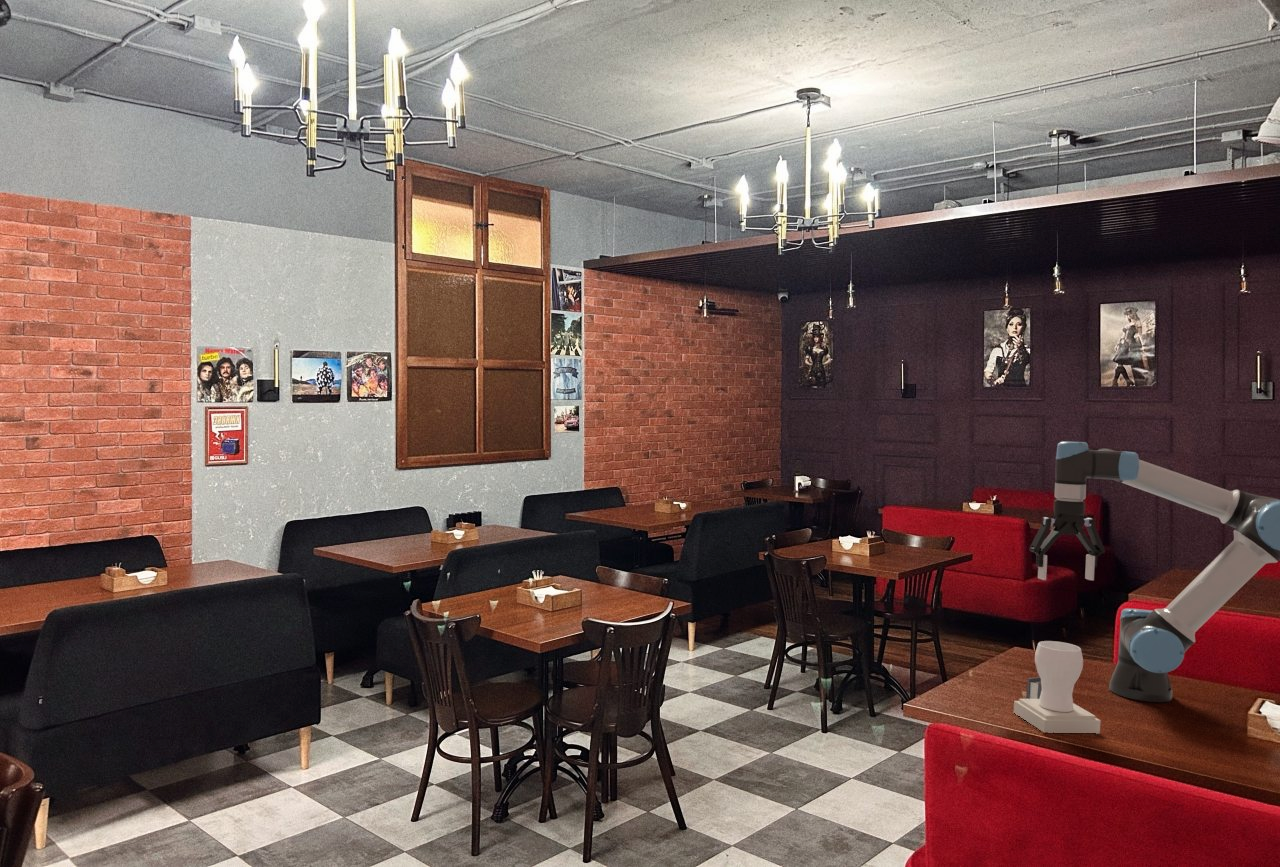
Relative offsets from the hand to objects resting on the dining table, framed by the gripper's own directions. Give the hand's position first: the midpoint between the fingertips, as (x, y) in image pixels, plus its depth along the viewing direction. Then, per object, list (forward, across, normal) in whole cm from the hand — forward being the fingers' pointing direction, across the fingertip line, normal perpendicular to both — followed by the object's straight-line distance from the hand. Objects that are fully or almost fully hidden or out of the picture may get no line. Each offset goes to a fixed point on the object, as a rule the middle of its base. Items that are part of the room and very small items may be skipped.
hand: (1065, 579), depth 246 cm
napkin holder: (+31, +8, +7) cm, 33 cm away
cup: (+28, +14, +20) cm, 37 cm away
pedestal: (+31, +14, +20) cm, 40 cm away
